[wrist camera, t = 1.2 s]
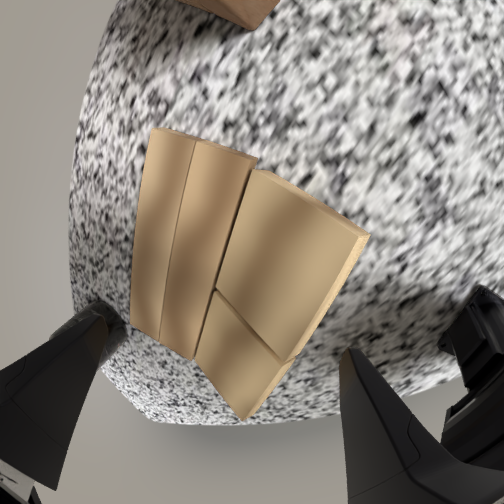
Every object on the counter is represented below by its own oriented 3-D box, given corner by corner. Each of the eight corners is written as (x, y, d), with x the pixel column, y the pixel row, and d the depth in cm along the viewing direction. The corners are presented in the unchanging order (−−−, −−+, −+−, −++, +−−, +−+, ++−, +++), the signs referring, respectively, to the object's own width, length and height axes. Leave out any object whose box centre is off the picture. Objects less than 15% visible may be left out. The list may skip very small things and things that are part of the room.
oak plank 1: (370, 234, 13) (358, 237, 12) (298, 353, 18) (284, 362, 17) (269, 170, 18) (252, 169, 17) (230, 282, 22) (215, 286, 21)
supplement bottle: (91, 319, 34) (34, 367, 23) (93, 288, 30) (24, 340, 20) (126, 350, 33) (71, 406, 23) (133, 323, 30) (65, 387, 20)
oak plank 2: (296, 358, 18) (281, 366, 17) (254, 414, 23) (242, 421, 22) (229, 287, 23) (214, 291, 22) (206, 355, 27) (194, 359, 26)
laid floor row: (258, 158, 18) (250, 160, 17) (197, 352, 28) (191, 361, 26) (164, 127, 19) (151, 128, 18) (137, 316, 29) (129, 323, 28)
